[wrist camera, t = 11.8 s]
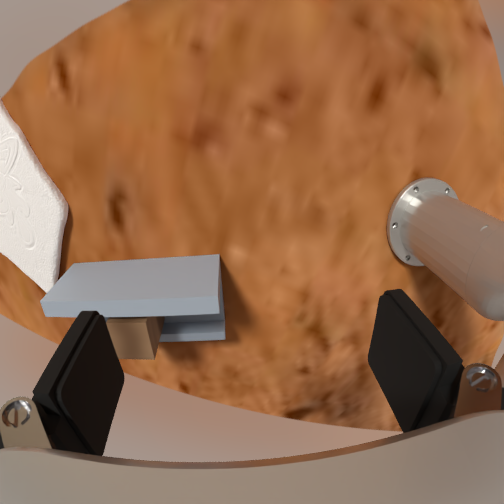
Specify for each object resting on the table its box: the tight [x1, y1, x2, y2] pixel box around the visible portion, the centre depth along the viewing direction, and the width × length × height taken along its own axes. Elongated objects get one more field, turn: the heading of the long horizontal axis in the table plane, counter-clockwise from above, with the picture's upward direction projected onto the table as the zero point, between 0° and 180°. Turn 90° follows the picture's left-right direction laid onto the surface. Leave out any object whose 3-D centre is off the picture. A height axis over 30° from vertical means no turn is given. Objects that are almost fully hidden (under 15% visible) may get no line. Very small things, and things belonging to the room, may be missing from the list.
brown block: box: [106, 316, 165, 360], centre depth 36 cm, size 4×6×8 cm
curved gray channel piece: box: [40, 254, 225, 342], centre depth 36 cm, size 20×10×10 cm, turn 92°
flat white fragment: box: [0, 97, 68, 293], centre depth 33 cm, size 21×4×25 cm
